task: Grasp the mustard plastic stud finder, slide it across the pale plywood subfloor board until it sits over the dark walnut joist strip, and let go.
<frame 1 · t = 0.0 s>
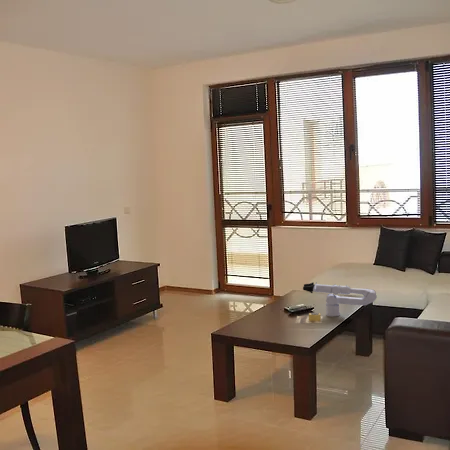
hand: (303, 287, 397), 22 cm above the table, fingers open, 7 cm apart
subfloor: (309, 320, 387), on the table
stud finder: (314, 319, 386), point 1 cm above the table, touching subfloor
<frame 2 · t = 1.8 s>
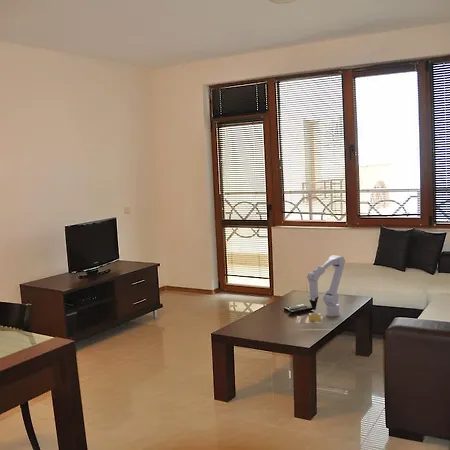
hand: (314, 308, 385), 9 cm above the table, fingers open, 7 cm apart
nothing on the table moved.
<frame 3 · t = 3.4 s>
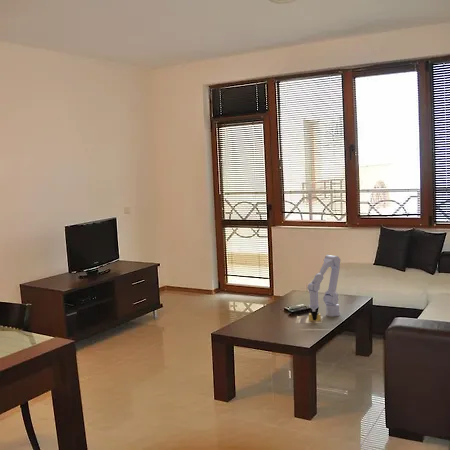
hand: (314, 318, 386), 2 cm above the table, fingers closed on stud finder, 5 cm apart
stud finder: (314, 319, 386), point 1 cm above the table, touching gripper, subfloor
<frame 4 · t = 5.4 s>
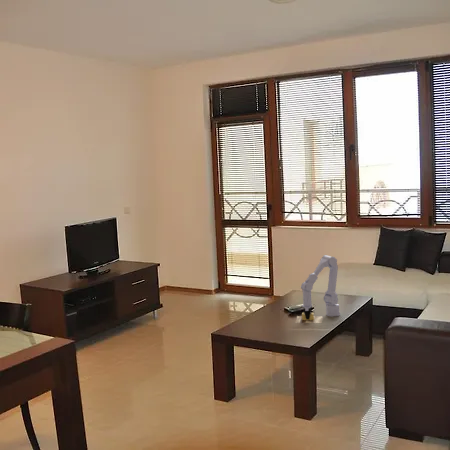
hand: (308, 318, 387), 2 cm above the table, fingers closed on stud finder, 5 cm apart
stud finder: (308, 319, 387), point 1 cm above the table, touching gripper
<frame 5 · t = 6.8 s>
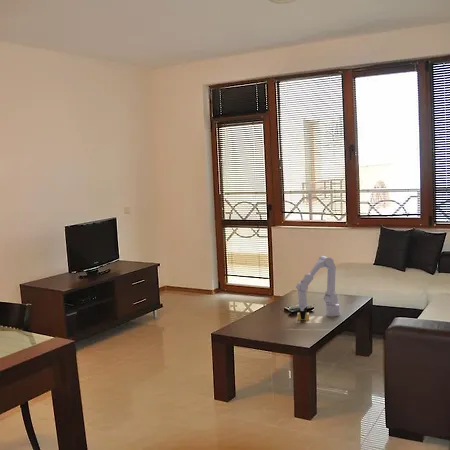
hand: (303, 318, 388), 2 cm above the table, fingers closed on stud finder, 5 cm apart
stud finder: (303, 319, 388), point 1 cm above the table, touching gripper
when the fingers open (2 cm above the table, at t = 7.6 s): stud finder stays where it is, resting on subfloor.
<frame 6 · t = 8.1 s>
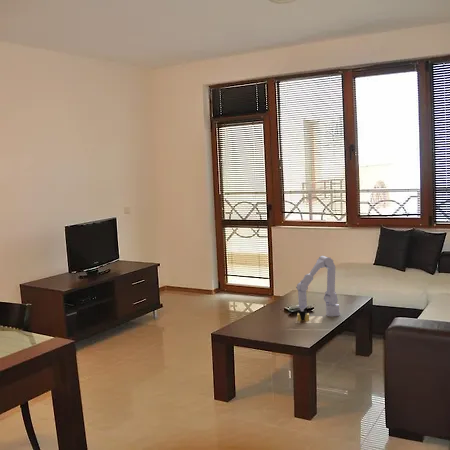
hand: (303, 318, 388), 2 cm above the table, fingers open, 7 cm apart
stud finder: (303, 319, 388), point 1 cm above the table, touching subfloor
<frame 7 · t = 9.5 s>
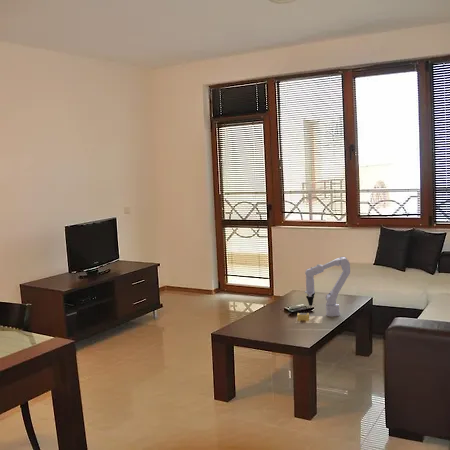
hand: (311, 304, 396), 9 cm above the table, fingers open, 7 cm apart
nothing on the table moved.
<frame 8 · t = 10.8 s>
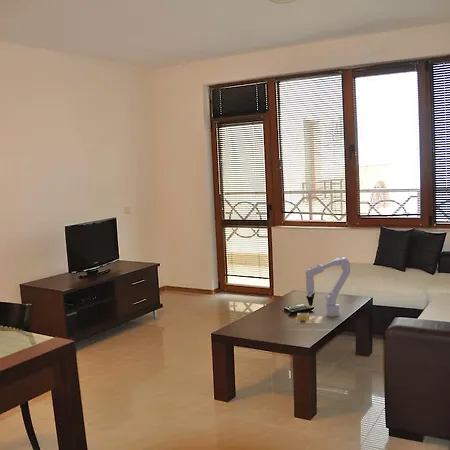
hand: (311, 304, 396), 9 cm above the table, fingers open, 7 cm apart
nothing on the table moved.
at the end: stud finder 0.0 cm from the target spot, point 1.0 cm above the table; stud finder tilted 0°; the gripper is holding nothing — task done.
